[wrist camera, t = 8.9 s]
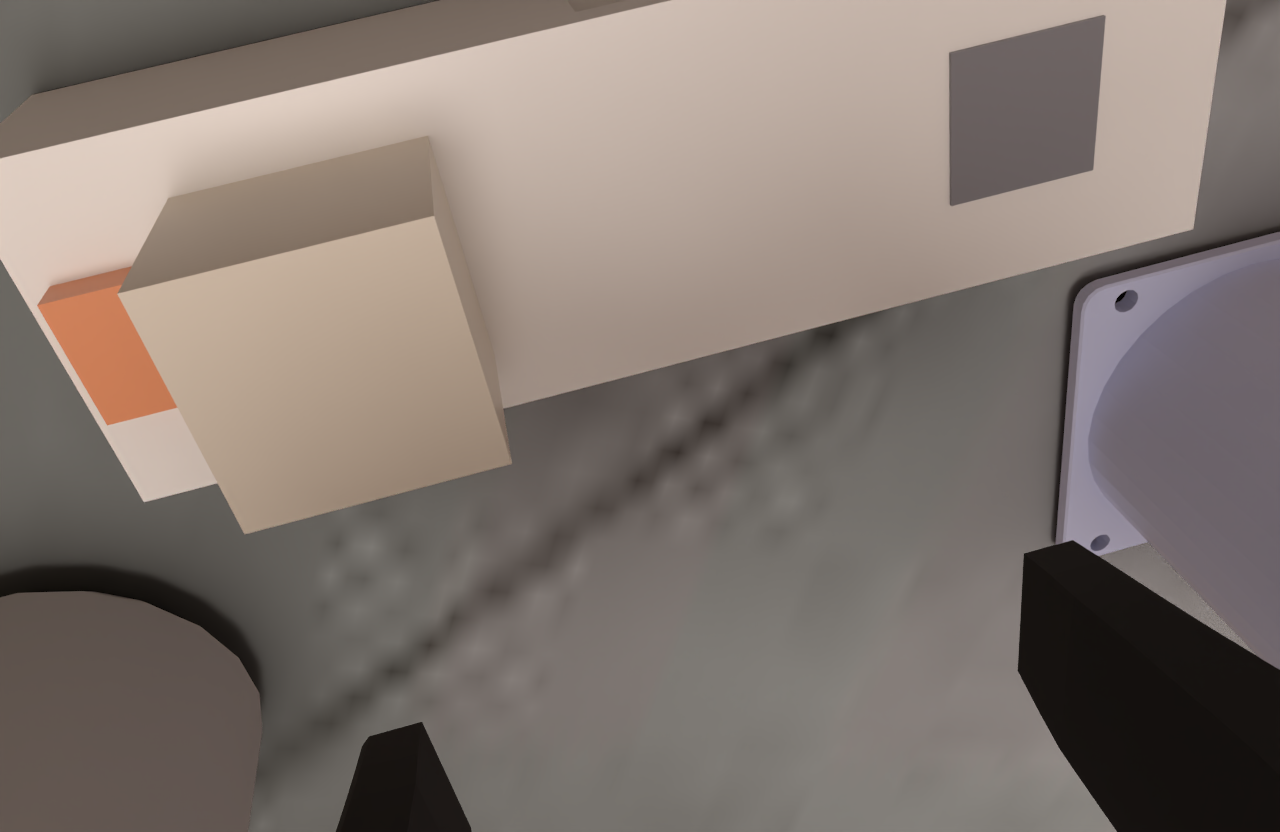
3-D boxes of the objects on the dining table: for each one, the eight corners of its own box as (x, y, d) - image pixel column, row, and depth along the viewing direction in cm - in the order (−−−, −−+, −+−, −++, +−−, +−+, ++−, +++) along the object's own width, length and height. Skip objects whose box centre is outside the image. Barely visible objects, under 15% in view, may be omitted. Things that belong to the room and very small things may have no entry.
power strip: (1099, -154, 17) (1276, -133, 14) (1077, 160, 20) (1216, 242, 17) (32, 95, 16) (-70, 187, 13) (183, 387, 19) (136, 525, 16)
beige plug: (428, 135, 14) (433, 215, 12) (494, 355, 16) (511, 463, 14) (168, 198, 14) (116, 294, 11) (268, 412, 16) (245, 534, 13)
